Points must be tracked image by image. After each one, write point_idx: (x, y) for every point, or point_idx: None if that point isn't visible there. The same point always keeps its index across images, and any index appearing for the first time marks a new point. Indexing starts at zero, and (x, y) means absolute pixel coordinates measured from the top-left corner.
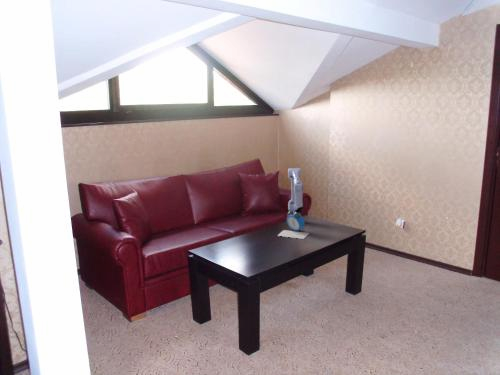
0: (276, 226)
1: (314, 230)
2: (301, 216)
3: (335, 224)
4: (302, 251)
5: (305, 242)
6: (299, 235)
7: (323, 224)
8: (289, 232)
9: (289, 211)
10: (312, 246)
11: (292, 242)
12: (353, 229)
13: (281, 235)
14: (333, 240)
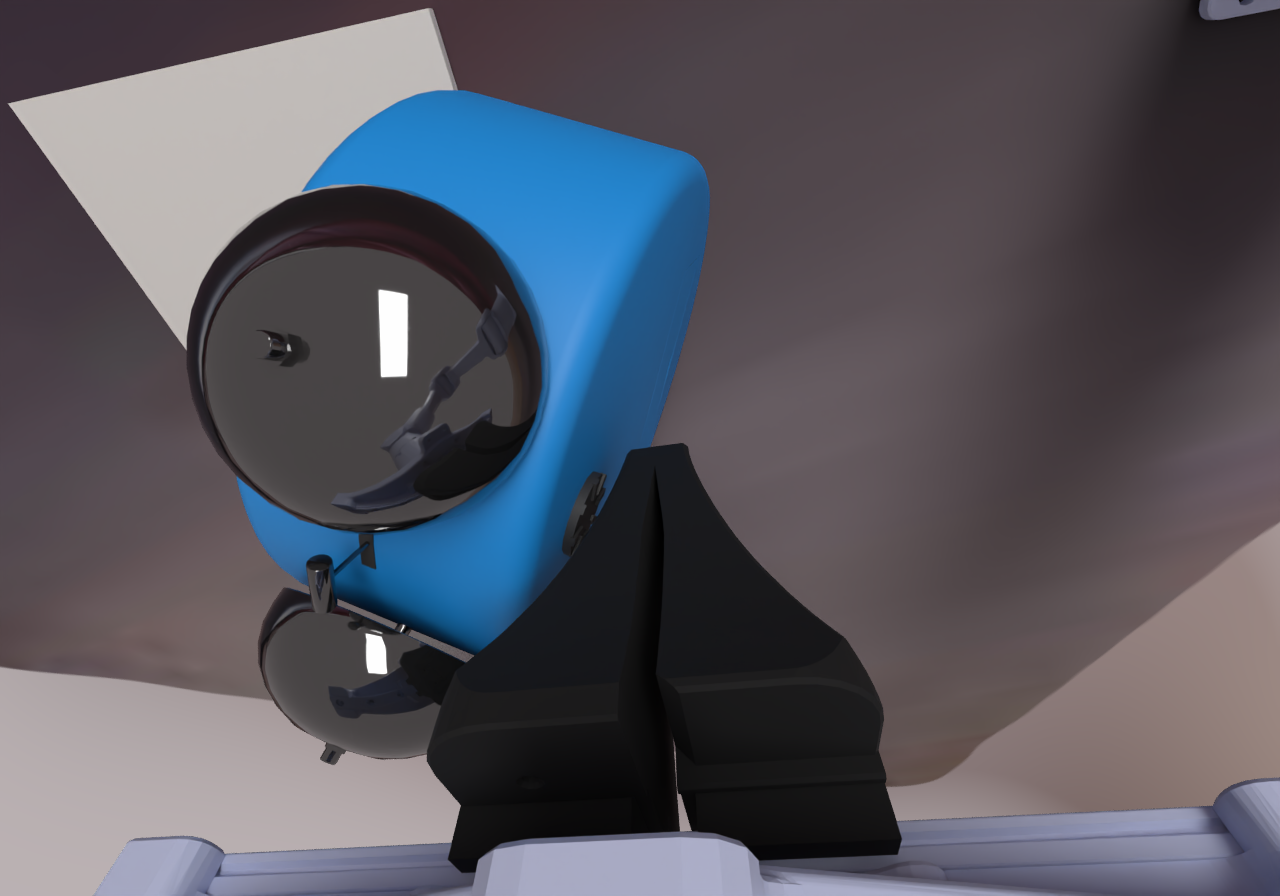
0: None
1: (761, 511)
2: None
3: (1131, 612)
4: (52, 645)
5: (268, 586)
6: None
7: (1120, 507)
8: None
9: (254, 396)
10: (243, 660)
11: (112, 483)
12: (947, 748)
13: (110, 193)
14: None
